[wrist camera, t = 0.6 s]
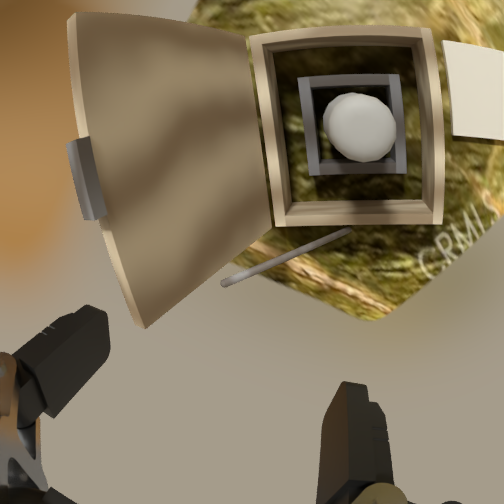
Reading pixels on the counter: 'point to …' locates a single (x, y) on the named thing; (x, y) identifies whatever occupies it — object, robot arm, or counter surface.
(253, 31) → the counter surface
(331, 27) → the case
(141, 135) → the lid
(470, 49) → the tile
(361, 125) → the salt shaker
